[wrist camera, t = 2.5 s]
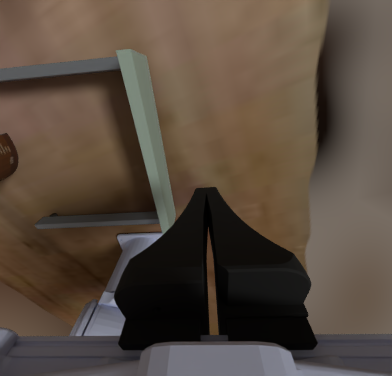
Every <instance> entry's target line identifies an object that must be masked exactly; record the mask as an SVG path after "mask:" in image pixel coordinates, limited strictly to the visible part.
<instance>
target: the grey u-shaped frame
mask: <svg viewBox="0 0 392 376" xmlns="http://www.w3.org/2000/svg"><path fill="white" fill-rule="evenodd" d="M116 52H117V57H108V58H98V59H89V60H79V61H70V62H60V63H51V64H41V65H32V66H22V67H13V68H3V69H0V82H10V81H20V80H30V79H40V78H50V77H60V76H70V75H80V74H90V73H100V72H110V71H119V70H121V72H122V76H123V80H124V84H125V88H126V92H127V96H128V100H129V103H130V107H131V111H132V115H133V119H134V123H135V127H136V131H137V135H138V139H139V143H140V147H141V151H142V155H143V159H144V162H145V166H146V170H147V174H148V178H149V182H150V186H151V190H152V194H153V198H154V202H155V206H156V210H157V211H155V212H135V213H115V214H95V215H75V216H58V215H57V214H56V213H54V214H52V215H50V216H49V217H43V218H42V219H41V220H39V221H38V222H37V223H36V224H35V226H36V228H37V229H50V228H71V227H93V226H115V225H137V224H159V223H160V225H161V229H162V233H163V234H164V233H165V232H166V231H167V230H168V229H169V228H170V227H171V226H172V225H173V224H174V222H175V216H176V214H175V208H174V203H173V197H172V192H171V186H170V181H169V176H168V170H167V165H166V159H165V154H164V148H163V143H162V137H161V132H160V127H159V121H158V116H157V110H156V105H155V99H154V94H153V88H152V83H151V78H150V72H149V67H148V61H147V56H145V55H142V54H140V53H138V52H136V51H134V50H132V49H126V50H117V51H116Z"/></svg>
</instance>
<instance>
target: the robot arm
mask: <svg viewBox="0 0 392 376" xmlns="http://www.w3.org/2000/svg"><path fill="white" fill-rule="evenodd" d="M208 227H209V234H210V240H211V246H212V252H213V259H214V271H215V286H216V300H217V314H218V329H219V335H210V332H209V309H208V286H207V262H206V260H207V237H208ZM117 239H118V241H119V243H120V246H121V248H122V250H123V252H122V254H121V256H120V258H119V260H118V263H117V265H116V267H115V269H114V271H113V274H112V276H111V278H110V280H109V282H108V285H107V287H106V289H105V291H104V292H103V294H102V296H101V298H100V300H99V303H97V301H98V300H96V299H93V300H92V301H90V302H89V303H87V304H86V305H85V306H84V308H83V310H82V312H81V314H80V315H79V317H78V319H77V321H76V323H75V325H74V327H73V329H72V331H71V333H70V335H69V336H18V334H16V333H15V332H14V331H12V330H10V329H7V328H0V376H392V334H315V335H314V333H313V331H312V329H311V326H310V324H309V322H308V320H307V318H306V317H308V312H307V310H306V308H305V305H304V304H303V303H304V300H305V298H306V297H307V294H308V293H309V290H310V287H311V281H310V278H309V277H308V275H307V273H306V271H305V269H304V268H303V266H302V265H301V263H300V262H299V260H298V259H297V258H296V256H295V255H294V254H293V253H292V252H290V251H288V250H286V249H284V248H282V247H280V246H279V245H277V244H275V243H273V242H271V241H270V240H268V239H267V238H265V237H263V236H262V235H260V234H259V233H258V232H256V231H255V230H253V229H252V228H251V227H249V226H248V225H247V224H246V223H245V222H244V221H242V220H241V219H240V218H239V217H238V216H237V215H236V214H235V213H234V212H233V210H232V209H231V208H230V207H229V206H228V205H227V203H226V202H225V201H224V199H223V198H222V196H221V195H220V193H219V192H218V190H217V188H216V187H209V188H196V189H195V192H194V194H193V196H192V198H191V200H190V202H189V203H188V205H187V207H186V208H185V210H184V211H183V213H182V214H181V215H180V217H179V218H178V219H177V220H176V222H175V223H174V224H173V225H172V226H171V227H170V228H169V229H168V230H167V231H166V232H165V233H164V234H163V233H138V234H119V235H118V236H117Z"/></svg>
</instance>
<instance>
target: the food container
mask: <svg viewBox="0 0 392 376" xmlns="http://www.w3.org/2000/svg"><path fill="white" fill-rule="evenodd" d="M17 166H18V154H17V151H16V148H15V146H14V144H13V142H12V140H11V139H10V137H9V136H8V134H7V133H4V134H0V181H1V180H3V179H4V178H6V177H8V176H9V175H11V174H13V173H14V172H15V170H16V169H17Z"/></svg>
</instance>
